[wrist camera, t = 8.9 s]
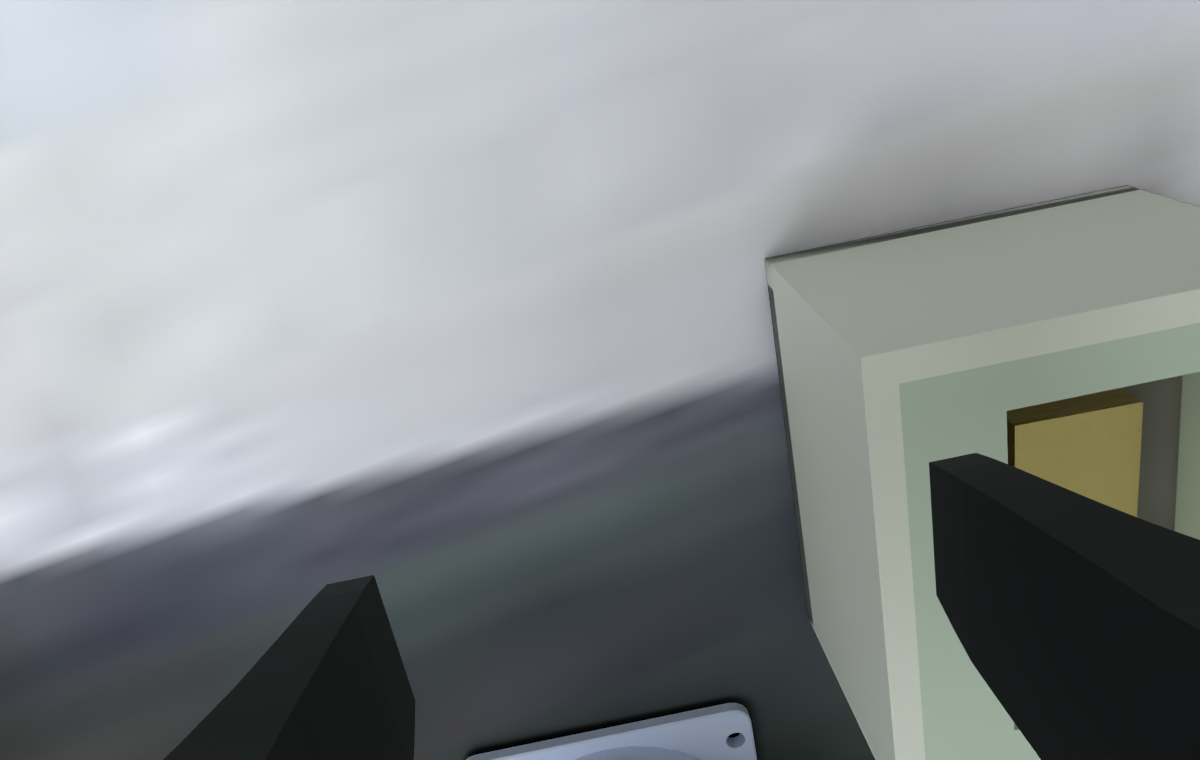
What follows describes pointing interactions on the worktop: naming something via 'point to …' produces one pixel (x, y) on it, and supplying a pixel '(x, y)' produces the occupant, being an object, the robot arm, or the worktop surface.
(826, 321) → the box
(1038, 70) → the worktop surface
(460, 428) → the worktop surface
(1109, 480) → the block
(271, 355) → the worktop surface
